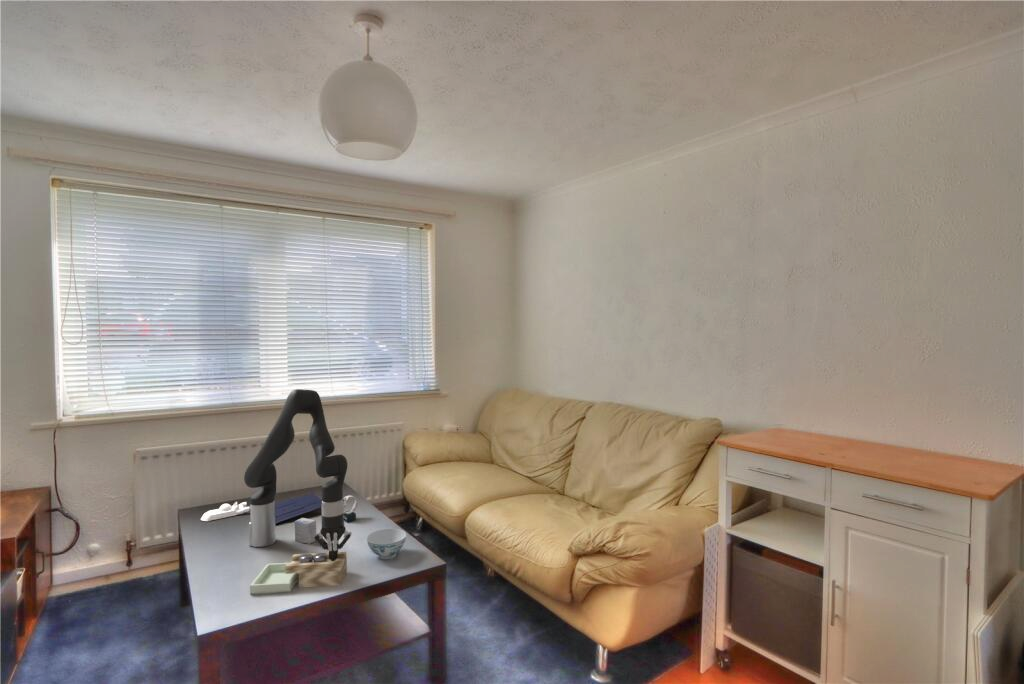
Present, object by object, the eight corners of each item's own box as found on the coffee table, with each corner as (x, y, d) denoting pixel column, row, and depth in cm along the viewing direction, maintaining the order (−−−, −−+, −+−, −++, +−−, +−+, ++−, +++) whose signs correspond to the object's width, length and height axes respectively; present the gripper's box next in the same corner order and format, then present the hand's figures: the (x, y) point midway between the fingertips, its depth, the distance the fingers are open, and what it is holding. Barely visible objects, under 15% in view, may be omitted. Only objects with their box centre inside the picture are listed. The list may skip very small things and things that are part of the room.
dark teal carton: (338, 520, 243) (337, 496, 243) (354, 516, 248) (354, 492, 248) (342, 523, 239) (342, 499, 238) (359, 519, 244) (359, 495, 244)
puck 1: (297, 566, 184) (297, 559, 184) (301, 560, 188) (301, 554, 188) (310, 566, 184) (310, 558, 184) (313, 560, 189) (313, 553, 189)
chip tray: (250, 594, 177) (249, 585, 177) (267, 571, 193) (267, 563, 193) (290, 592, 178) (289, 583, 178) (304, 570, 194) (303, 562, 194)
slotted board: (285, 588, 181) (284, 566, 181) (294, 574, 191) (294, 553, 191) (340, 584, 183) (340, 563, 183) (346, 571, 193) (346, 551, 192)
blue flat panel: (329, 510, 253) (328, 503, 253) (263, 534, 234) (262, 526, 234) (312, 497, 272) (311, 490, 271) (249, 518, 253) (248, 511, 253)
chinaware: (372, 567, 196) (371, 547, 195) (363, 552, 209) (363, 533, 209) (411, 558, 203) (411, 539, 202) (400, 544, 216) (400, 525, 216)
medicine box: (317, 540, 221) (316, 520, 220) (308, 544, 217) (308, 523, 216) (303, 537, 224) (302, 517, 224) (294, 541, 220) (294, 520, 220)
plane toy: (199, 517, 249) (198, 505, 249) (246, 508, 261) (245, 496, 261) (201, 524, 241) (201, 511, 240) (249, 514, 252) (249, 502, 252)
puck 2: (313, 566, 184) (312, 559, 184) (314, 560, 188) (314, 553, 188) (326, 564, 185) (325, 557, 185) (327, 559, 189) (327, 552, 189)
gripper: (310, 516, 182) (311, 565, 183) (349, 515, 184) (350, 564, 184) (316, 509, 190) (317, 556, 190) (353, 507, 191) (354, 554, 192)
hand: (333, 560), depth 187 cm, fingers closed
